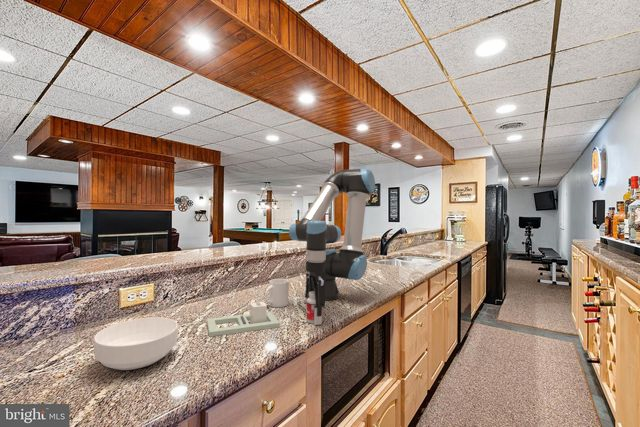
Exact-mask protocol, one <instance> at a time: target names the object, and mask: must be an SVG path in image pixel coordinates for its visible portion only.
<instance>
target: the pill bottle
mask: <svg viewBox="0 0 640 427" xmlns="http://www.w3.org/2000/svg"><path fill="white" fill-rule="evenodd" d="M314 306H316V302H315V292H314V291H310V292H309V298H308V299H307V298H306V317H305V318H306V322H307V323H308V324H312V325H314V315H315V308H314ZM323 308H324V307H322V314H323V310H324V309H323Z"/></svg>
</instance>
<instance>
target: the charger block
mask: <svg viewBox="0 0 640 427" xmlns="http://www.w3.org/2000/svg"><path fill="white" fill-rule="evenodd" d="M267 307H268V306H267V303H265V302H264V301H259V302H251V303H250V305H249V314H250V320H249V322H250V323H249V324H255V323H263V322H267V312H268V311H267V310H268V309H267Z"/></svg>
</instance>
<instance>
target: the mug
mask: <svg viewBox="0 0 640 427" xmlns="http://www.w3.org/2000/svg"><path fill="white" fill-rule="evenodd" d="M268 284H269V285H268V287H267V288H266V291H265V293H264V294H265V295H264V298H265V302H266V304H268V305H269V306H270V307H272V308H285V307H287V306H288V305H289V290H290V289H289V288H290V281H289V279H286V278H274V279H270V280H269V283H268ZM267 295H268V299H267Z"/></svg>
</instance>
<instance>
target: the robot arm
mask: <svg viewBox="0 0 640 427" xmlns="http://www.w3.org/2000/svg"><path fill="white" fill-rule="evenodd" d="M374 176H375V175H374V173H373V172H372V170H371V169H370V168H356V169H355V168H353V169H341V170H338V171H336V172H334V173H332V174H331V175H330V176H329V177H328V178H326V179H325V181H324V182H323V184H322V185H321V190H320V191H319V193H318V195H317V196H316V197H315V199H314V200H313V202H312V203H311V205H310V207H308V209H307V211H306V212H305V213H304V215H303V217H302V218H301V219H300V221H299V222H298V223H297V222H296V223H292V224H291V225H290V226H289V229H288V235H289V237H290V239H291V240H293V241H295V242H296V241H297V242H306V251H305V252H304V254H305V256H306V257H305V259H306V261H305V271H306V272H307V273H305V292H304V297H305V299H306V300H307V299H308V298H309V292H310V291H314V292H315V302H316V306H314V308H315V315H314V324H313V325H314V326H318V325H323V324H322V322H323V313H322V307H323V308H324V307H325V308H326V301H333V300H337V299H339V297H340V292H339V288H338V284H337V281H336V279H337V278H340V279H346V280H351V281H352V280H353V281H359V280H361V279H362V278H363V277H364V275H365V273H366V270H367V267H368V266H367V265H368V258H367V257H366V255H365V254H364V250H363V249H362V241H363V230H364V223H365V215H366V214H365V212H366V202H367V200H368V199H369V198H370V196H371V194H372V193H374V192H375V188H376V181H375V177H374ZM341 193H343V194H344V193H346V194H345V196H347V198H348V202H347V211H346V218H345V227H344V235H343V243H342V246H341V247H340V248H339V249H338V250H337V249H335V248H332V249H331V248H330V249H327V245H328V244H334V243H337V242H339V241H340V240H341V238H342V230H341V228H340V227H339V226H337V225H336V224H327V222H326V221H325V220H322V219H323V217H324V216H325V213H326V212H327V211H328V209H329V207H330V206H331V205H332V202H333V201H334V199H335V198H337V197H339V195H340V194H341ZM337 251H338V252H337Z"/></svg>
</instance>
